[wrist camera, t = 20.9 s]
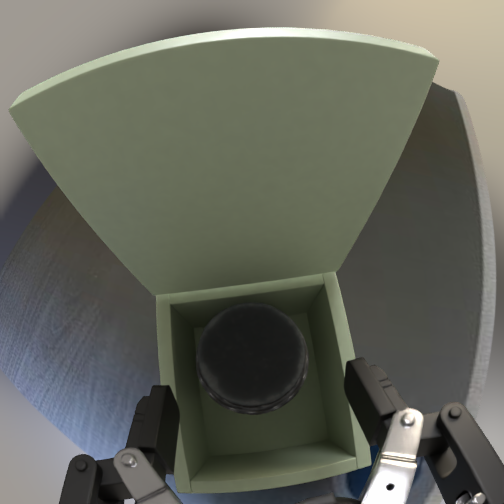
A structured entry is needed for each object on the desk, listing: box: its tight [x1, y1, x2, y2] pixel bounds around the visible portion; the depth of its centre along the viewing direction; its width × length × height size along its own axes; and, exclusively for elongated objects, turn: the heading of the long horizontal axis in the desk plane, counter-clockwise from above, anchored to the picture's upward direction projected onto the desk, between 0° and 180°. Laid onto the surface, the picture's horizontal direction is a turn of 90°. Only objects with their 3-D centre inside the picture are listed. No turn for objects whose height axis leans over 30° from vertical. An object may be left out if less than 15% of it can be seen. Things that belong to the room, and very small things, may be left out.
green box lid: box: [9, 28, 439, 295], centre depth 12 cm, size 14×11×5 cm
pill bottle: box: [196, 302, 309, 415], centre depth 16 cm, size 6×6×11 cm
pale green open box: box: [156, 272, 371, 493], centre depth 18 cm, size 13×11×8 cm
